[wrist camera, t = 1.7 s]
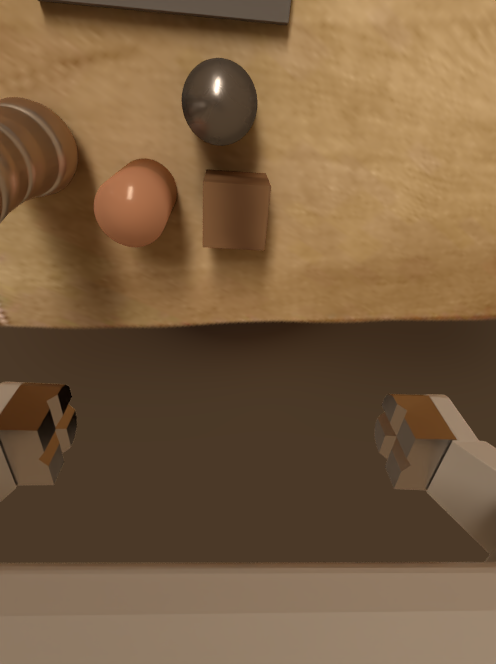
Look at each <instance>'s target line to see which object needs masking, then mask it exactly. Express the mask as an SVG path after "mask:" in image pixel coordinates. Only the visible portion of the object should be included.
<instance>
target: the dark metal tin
mask: <svg viewBox="0 0 496 664" xmlns="http://www.w3.org/2000/svg"><path fill="white" fill-rule="evenodd" d="M182 108H183V113H184V116H185V119H186V121H187V123H188V125H189V127H190V128H191V130H192V131H193V132H194V133H195V134H196V135H197V136H198V137H199V138H200V139H202V140H204V141H205V142H208V143H210V144H213V145H229V144H232V143H234V142H236V141H238V140H240V139H241V138H242V137H243V136H245V135H246V133H247V132H248V131H249V130H250V128H251V126H252V124H253V122H254V120H255V117H256V112H257V94H256V90H255V87H254V84H253V82H252V80H251V78H250V76H249V75H248V74H247V72H246V71H245V70H244V69H243V68H242V67H241V66H239V65H238V64H237V63H235V62H233V61H231V60H228V59H223V58H213V59H209V60H206V61H204V62H202V63H200V64H199V65H197V66H196V67H195V68H194V69H193V70H192V71H191V73H190V74H189V76H188V77H187V79H186V82H185V84H184V88H183V92H182Z"/></svg>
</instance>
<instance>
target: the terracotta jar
mask: <svg viewBox="0 0 496 664" xmlns="http://www.w3.org/2000/svg"><path fill="white" fill-rule="evenodd" d="M176 199H177V187H176V183H175V180H174V178H173V176H172V175H171V173H170V172H169V171H168V169H167V168H166V167H164V166H163V165H162V164H160V163H158V162H156V161H154V160H151V159H137V160H134V161H132V162H130V163H128V164H127V165H126V166H124V167H123V168H122V169H121V170H119V171H118V172H117V173H116V174H114V175H113V176H112V177H111V178H109V179H108V180H107V181H106V182H104V183H103V184H102V185H101V187H100V188H99V189H98V191H97V193H96V196H95V199H94V213H95V217H96V220H97V222H98V224H99V226H100V227H101V229H102V230H103V232H104V233H105V234H106V235H107V236H108V237H110V238H111V239H112V240H114V241H115V242H117V243H119V244H122V245H125V246H129V247H141V246H145V245H148V244H150V243H152V242H154V241H155V240H156V239H157V238H158V237H159V236H160V235H161V233H162V232H163V230H164V227H165V225H166V223H167V221H168V218H169V216H170V214H171V212H172V209H173V207H174V205H175V202H176Z"/></svg>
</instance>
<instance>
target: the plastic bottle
mask: <svg viewBox="0 0 496 664" xmlns="http://www.w3.org/2000/svg"><path fill="white" fill-rule="evenodd" d="M77 165H78V151H77V146H76V143H75V139H74V137H73V135H72V133H71V131H70V130H69V128H68V127H67V125H66V124H65V122H64V121H63V120H62V119H61V118H60V117H59V116H58V115H57V114H56V113H54V112H53V111H52V110H51V109H49V108H47V107H46V106H44V105H42V104H40V103H37V102H34V101H31V100H28V99H25V98H18V97H9V98H4V99H1V100H0V223H1V222H2V221H3V219H4V218H5V217H6V216H7V215H8V214H9V213H10V212H11V211H12V210H14V209H15V208H16V207H18V205H20V204H21V203H23V202H24V201H27V200H30V199H32V198H35V197H44V196H47V195H51V194H54V193H57V192H59V191H61V190H62V189H64V188H65V187H66V186H67V185H68V184H69V182H70V181H71V179H72V177H73V175H74V174H75V172H76V168H77Z"/></svg>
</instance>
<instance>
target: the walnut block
mask: <svg viewBox="0 0 496 664" xmlns="http://www.w3.org/2000/svg"><path fill="white" fill-rule="evenodd" d="M270 191H271V185H270V183H269V180H268V178H267V175H266V173H252V172H237V171H222V170H208V169H207V170H206V174H205V177H204V181H203V247H209V248H228V249H246V250H265V242H266V232H267V222H268V212H269V201H270Z"/></svg>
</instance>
